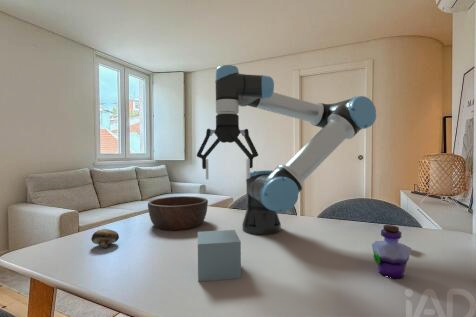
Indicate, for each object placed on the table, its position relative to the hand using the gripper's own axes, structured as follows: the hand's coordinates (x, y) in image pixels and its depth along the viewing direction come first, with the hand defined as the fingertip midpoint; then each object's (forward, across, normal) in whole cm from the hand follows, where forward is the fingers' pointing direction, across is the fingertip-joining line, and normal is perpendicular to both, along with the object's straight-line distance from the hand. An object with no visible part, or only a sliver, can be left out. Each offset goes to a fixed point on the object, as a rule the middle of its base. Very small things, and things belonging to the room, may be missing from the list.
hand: (227, 178), depth 89 cm
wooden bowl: (+22, +18, -29) cm, 41 cm away
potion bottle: (+22, -37, +29) cm, 52 cm away
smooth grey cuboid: (+22, +5, +20) cm, 30 cm away
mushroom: (+22, +40, -5) cm, 46 cm away
